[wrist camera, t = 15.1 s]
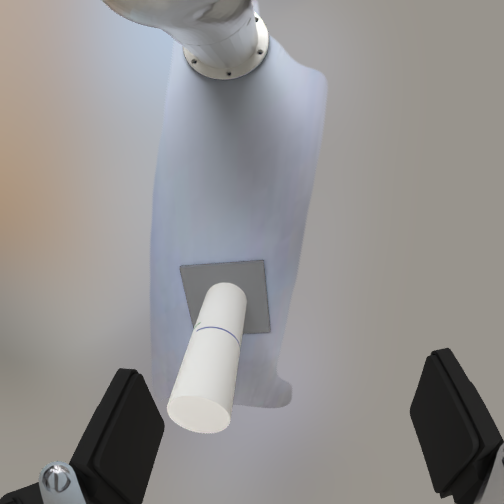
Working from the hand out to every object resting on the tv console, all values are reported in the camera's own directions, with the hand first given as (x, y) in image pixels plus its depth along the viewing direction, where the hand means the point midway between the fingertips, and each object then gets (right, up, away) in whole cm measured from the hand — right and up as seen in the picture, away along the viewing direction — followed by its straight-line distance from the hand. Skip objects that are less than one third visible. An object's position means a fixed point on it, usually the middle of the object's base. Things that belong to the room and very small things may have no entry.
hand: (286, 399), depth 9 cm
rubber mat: (-5, -4, +46) cm, 46 cm away
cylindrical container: (-6, -4, +45) cm, 45 cm away
